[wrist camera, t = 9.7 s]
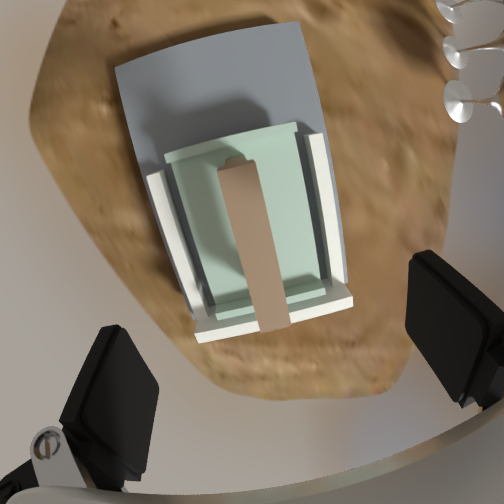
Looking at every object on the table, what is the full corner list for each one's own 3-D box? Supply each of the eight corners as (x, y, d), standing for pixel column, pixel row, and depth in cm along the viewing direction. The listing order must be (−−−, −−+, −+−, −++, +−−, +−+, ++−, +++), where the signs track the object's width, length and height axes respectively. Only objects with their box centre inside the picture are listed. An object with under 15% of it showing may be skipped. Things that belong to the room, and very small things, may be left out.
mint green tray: (175, 149, 20) (144, 161, 13) (284, 123, 20) (314, 119, 13) (219, 292, 25) (215, 360, 18) (312, 270, 25) (344, 330, 17)
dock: (126, 73, 20) (95, 58, 14) (291, 32, 20) (309, 4, 14) (196, 302, 29) (189, 344, 23) (337, 268, 28) (362, 303, 22)
